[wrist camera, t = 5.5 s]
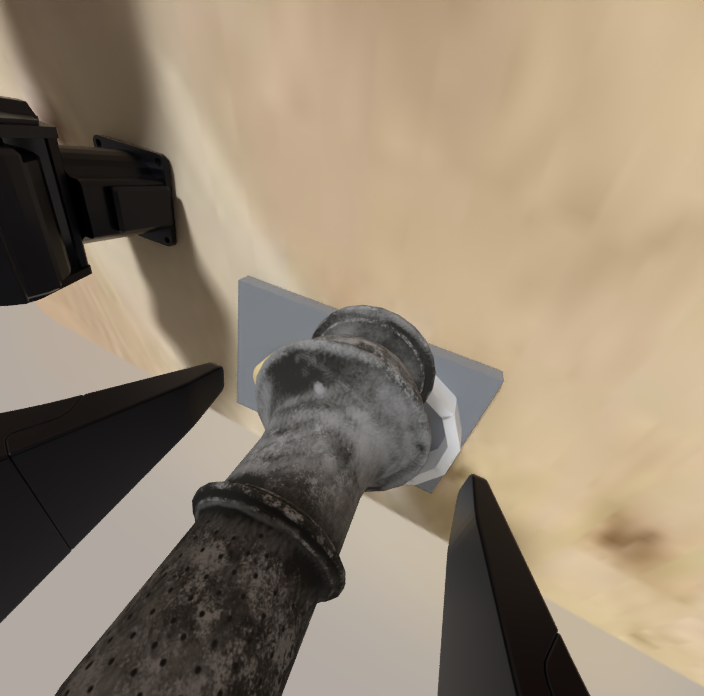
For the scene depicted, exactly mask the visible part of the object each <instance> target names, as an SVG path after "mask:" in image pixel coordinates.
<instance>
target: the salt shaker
mask: <svg viewBox="0 0 704 696" xmlns="http://www.w3.org/2000/svg"><path fill="white" fill-rule="evenodd" d="M435 375H436V370H435V363H434V357H433V354H432V352H431V350H430V348H429V345H428V343H427V341H426V340H425V339H424V337H423V336H422V335H421V334H420V332H419V331H418V330H417V329H416V328H415V326H413V325H412V324H410V323H409V322H408V321H406V320H405V319H404V318H402V317H401V316H400V315H398V314H395V313H393V312H390V311H388V310H386V309H383V308H380V307H373V306H367V305H359V306H349V307H345V308H342V309H340V310H338V311H335V312H333V313H331V314H330V315H329V316H328V317H327V318H325V319H324V320H323V321H322V322H321V323H320V324H319V325H318V327H317V329H316V330H315V332H314V334H313V335H312V339H306V340H298V341H295V342H292V343H290V344H287V345H285V346H282V347H280V348H278V349H277V350H276V351H275V352H274V353H273V354H272V355H270V356H269V357H268V358H267V359H266V360H265V361H264V362H263V364H262V366H261V368H260V370H259V372H258V374H257V376H256V385H255V393H254V394H255V400H256V405H257V411H258V414H259V417H260V419H261V421H262V423H263V426H264V428H265V432H264V434H263V436H262V437H261V439H260V440H259V441H258V442H257V444H256V445H255V446H254V447H253V448H252V449H251V451H250V452H249V453H248V454H247V455H246V457H245V458H244V459H243V460H242V461H241V462H240V464H239V465H238V466H237V467H236V468H235V470H234V471H233V472H232V473H231V475H230V476H229V477H228V478H227V479H226V480H225V481H224V482H212V483H208V484H206V485H204V486H203V487H201V488H199V489H198V490H197V492H196V494H195V496H194V498H193V500H192V506H193V514H194V517H195V523H194V525H193V526H192V527H191V528H190V530H189V531H188V532H187V533H186V534H185V536H184V537H183V538H182V539H181V540H180V542H179V543H178V544H177V546H176V547H175V548H174V549H173V550H172V551H171V553H170V554H169V555H168V556H167V557H166V559H165V560H164V561H163V563H162V564H161V565H160V566H159V567H158V568H157V570H156V571H155V572H154V573H153V575H152V576H151V577H150V578H149V579H148V581H147V582H146V583H145V584H144V586H143V587H142V588H141V589H140V590H139V592H138V593H137V594H136V595H135V596H134V598H133V599H132V600H131V601H130V602H129V604H128V605H127V606H126V607H125V609H124V610H123V611H122V612H121V613H120V615H119V616H118V617H117V618H116V620H115V621H114V622H113V623H112V625H111V626H110V627H109V628H108V629H107V630H106V632H105V633H104V634H103V635H102V637H101V638H100V639H99V640H98V641H97V643H96V644H95V645H94V646H93V647H92V649H91V650H90V651H89V652H88V654H87V655H86V656H85V657H84V658H83V660H82V661H81V662H80V663H79V664H78V666H77V667H76V668H75V669H74V671H73V672H72V673H71V674H70V675H69V677H68V678H67V679H66V680H65V682H64V683H63V684H62V685H61V687H60V688H59V690H58V692H57V693H56V694H55V696H282V693H283V690H284V688H285V685H286V683H287V680H288V677H289V674H290V672H291V669H292V667H293V664H294V662H295V659H296V656H297V654H298V651H299V648H300V646H301V643H302V641H303V638H304V635H305V632H306V630H307V628H308V625H309V622H310V620H311V617H312V614H313V612H314V609H315V607H316V604H317V603H319V602H326V601H328V600H331V599H334V598H336V597H338V596H339V595H340V593H341V592H342V590H343V589H344V586H345V569H344V567H343V564H342V562H341V560H340V557H339V554H340V551H341V549H342V546H343V543H344V540H345V538H346V535H347V532H348V530H349V527H350V524H351V521H352V519H353V516H354V514H355V511H356V508H357V506H358V503H359V500H360V498H361V496H362V494H363V493H364V492H372V491H385V490H389V489H392V488H395V487H399V486H402V485H404V484H405V483H407V482H408V481H410V480H411V479H413V478H414V477H416V476H417V475H418V474H419V472H420V471H421V470H422V468H423V467H424V465H425V464H426V462H427V461H428V457H429V452H430V448H431V443H432V434H431V427H430V421H429V416H428V414H427V412H426V410H425V408H424V406H423V404H424V403H425V402H426V400H427V399H428V397H429V395H430V393H431V392H432V390H433V385H434V380H435Z"/></svg>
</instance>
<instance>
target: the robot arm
mask: <svg viewBox="0 0 704 696" xmlns="http://www.w3.org/2000/svg"><path fill="white" fill-rule="evenodd" d="M57 138H58V134H57V130H56V127H55V126H53V125H50V124H47V123H44V122H41V121H39V119H38V116H36V115H35V114H34V112H33V111H32V109H31V108H30V107H29V105H28V104H27V103H26V102H25V101H23V100H20V99H16V98H10V97H4V96H0V306H10V305H19V304H27V303H29V302H33V301H37V300H39V299H42V298H44V297H46V296H48V295H50V294H52V293H54V292H56V291H58V290H60V289H62V288H64V287H66V286H68V285H70V284H72V283H74V282H76V281H78V280H80V279H82V278H84V277H86V276H88V275H90V274H91V273H92V270H91V266H90V265H89V264H88V261H87V257H86V253H85V249H84V245H83V244H85V243H91V242H97V241H103V240H109V239H115V238H121V237H127V236H133V235H139V236H142V237H145V238H147V239H150V240H152V241H155V242H158V243H160V244H163V245H166V246H169V247H170V246H174V245H176V233H175V223H174V213H173V203H172V193H171V183H170V173H169V164H168V160H167V158H166V157H165V156H164V155H163V154H161V153H157V152H154V151H151V150H148V149H144V148H141V147H138V146H135V145H131V144H128V143H125V142H122V141H119V140H115V139H112V138H109V137H106V136H102V135H94V137H93V142H94V146H95V147H82V146H69V145H58V142H57ZM160 161H161V163H160ZM223 388H224V370H223V367H221V366H219V365H217V364H215V363H207V364H203V365H199V366H195V367H191V368H187V369H183V370H179V371H175V372H171V373H167V374H163V375H159V376H155V377H151V378H147V379H143V380H139V381H136V382H132V383H127V384H124V385H120V386H116V387H112V388H108V389H104V390H100V391H96V392H92V393H88V394H85V395H84V396H83V395H80V396H76V397H72V398H68V399H64V400H60V401H55V402H51V403H47V404H43V405H38V406H33V407H29V408H24V409H19V410H14V411H9V412H4V413H0V623H1V622H2V621H3V619H5V618H6V617H7V616H8V615H9V614H10V613H11V612H12V611H13V610H14V609H15V608H16V606H18V605H19V604H20V603H21V602H22V601H23V600H24V598H26V596H28V594H29V593H30V592H31V591H32V590H33V589H34V588H35V587H36V586H37V585H38V584H39V583H40V582H41V581H42V580H43V579H44V578H45V577H46V576H47V575H48V574H49V573H50V572H51V571H52V570H53V569H54V568H55V567H56V566H57V565H58V564H59V563H60V562H61V561H62V560H63V559H64V558H65V557H66V556H67V555H68V554H69V553H70V552H71V549H73V548H75V546H76V545H77V544H78V543H79V542H80V541H81V540H82V539H83V538H84V537H85V536H86V535H87V534H88V533H89V532H90V531H91V530H92V529H93V528H94V527H95V526H96V525H97V524H98V523H99V522H100V521H101V520H102V519H103V518H104V517H105V516H106V515H107V514H108V513H109V512H110V511H111V510H112V509H113V508H114V507H115V506H116V505H117V504H118V503H119V502H120V501H121V500H122V499H123V498H124V497H125V496H126V495H127V494H128V493H129V492H130V491H131V489H133V488H134V487H135V485H136V484H137V483H138V482H139V481H140V480H141V479H142V478H143V477H144V476H145V475H146V474H147V473H148V472H149V471H150V470H151V469H152V468H153V467H154V466H155V465H156V464H157V463H158V462H159V461H160V460H161V459H162V458H163V457H164V456H165V455H166V454H167V453H168V452H169V451H170V450H171V449H172V448H173V447H174V446H175V445H176V444H177V443H178V442H179V441H180V440H181V439H182V438H183V437H184V436H185V435H186V434H187V433H188V431H190V429H191V428H192V427H193V426H194V425H195V424H196V423H197V422H198V420H199V419H200V418H201V417H202V415H203V414H204V413H205V411H206V410H207V409H208V408H209V407H210V406H211V404H212V403H213V402H214V401H215V399H216V398H217V397H218V396H219V394H220V393H221V392H222V390H223ZM557 632H558V629H557V627H556V625H555V622H554V620H553V618H552V616H551V614H550V612H549V610H548V608H547V606H546V604H545V601H544V599H543V597H542V595H541V593H540V591H539V589H538V587H537V585H536V582H535V580H534V578H533V576H532V574H531V572H530V570H529V568H528V566H527V564H526V561H525V559H524V557H523V555H522V553H521V551H520V549H519V547H518V545H517V543H516V540H515V538H514V536H513V534H512V532H511V530H510V528H509V526H508V524H507V521H506V519H505V517H504V515H503V513H502V511H501V509H500V507H499V505H498V503H497V500H496V498H495V496H494V494H493V492H492V490H491V488H490V486H489V484H488V482H487V480H486V479H484V478H482V477H480V476H477V475H475V474H471V475H470V476H469V477H468V479H467V480H466V481H465V483H464V484H463V486H462V487H461V489H460V491H459V493H458V497H457V502H456V507H455V513H454V518H453V523H452V529H451V534H450V540H449V546H448V553H447V566H446V581H445V595H444V610H443V624H442V638H441V653H440V668H439V683H438V696H590V694H589V692H588V691H587V688H586V686H585V684H584V682H583V680H582V678H581V676H580V674H579V672H578V670H577V668H576V666H575V664H574V662H573V660H572V658H571V656H570V654H569V652H568V650H567V647H566V646H565V643H564V641H563V639H562V637H561V635H560V634H559V633H557Z"/></svg>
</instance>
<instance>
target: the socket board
mask: <svg viewBox="0 0 704 696" xmlns="http://www.w3.org/2000/svg"><path fill="white" fill-rule="evenodd" d="M335 311H338V309H335V308H333V307H330V306H327V305H325V304H322V303H319V302H317V301H314V300H311V299H309V298H306V297H303V296H301V295H298V294H295V293H293V292H290V291H287V290H285V289H282V288H279V287H277V286H274V285H271V284H269V283H266V282H264V281H261V280H258V279H256V278H253V277H250V276H247V277H245V278H242V279H240V280H239V286H238V371H237V403H239V404H242V405H244V406H246V407H248V408H250V409H252V410H254V411H256V412H258V411H257V405H256V400H255V394H254V393H255V385H256V376H257V374H258V372H259V370H260V368H261V366H262V364H263V362H264V361H265V360H266V359H267V358H268V357H269V356H270V355H272V354H273V353H274V352H275V351H276V350H277V349H278V348H280V347H282V346H285V345H287V344H290V343H292V342H295V341H298V340H306V339H312V335H313V334H314V332H315V330H316V329H317V327H318V325H319V324H320V323H321V322H322V321H323V320H324V319H325V318H327V317H328V316H329V315H330V314H331V313H333V312H335ZM428 345H429V348H430V350H431V352H432V354H433V357H434V363H435V370H436V375H435V380H434V385H433V390H432V392H431V393H430V395H429V397H428V399H427V400H426V402H425V403H424V404H423V406H424V408H425V410H426V412H427V414H428V416H429V421H430V427H431V434H432V443H431V448H430V452H429V457H428V461H427V462H426V464H425V465H424V467H423V468H422V470H421V471H420V472H419V474H418V475H417V476H416V477H414V478H413V479H411V480H410V481H408V482H407V483H405V485H414V486H417V487H419V488H421V489H423V490H425V491H427V492H429V493H432V492H433V490H434V488H435V487H436V485H437V484H438V482H439V481H440V479H441V478H442V476H443V475H444V474H445V473H446V472H447V470H448V469H449V467H450V465H451V464H452V462H453V461H454V459H455V458H456V456H457V455H458V453H459V452H460V449H461V447H462V445H463V444H464V442H465V440H466V439H467V437H468V436H469V434H470V433H471V431H472V430H473V428H474V427H475V425H476V423H477V422H478V420H479V419H480V417H481V416H482V414H483V413H484V411H485V410H486V408H487V406H488V405H489V403H490V402H491V400H492V399H493V397H494V396H495V394H496V393H497V391H498V389H499V388H500V386H501V385H502V383H503V382H504V379H503V371H500V370H497V369H495V368H492V367H490V366H487V365H484V364H482V363H479V362H476V361H474V360H471V359H468V358H466V357H463V356H460V355H458V354H455V353H452V352H450V351H447V350H444V349H442V348H439V347H436V346H434V345H431V344H428Z"/></svg>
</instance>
